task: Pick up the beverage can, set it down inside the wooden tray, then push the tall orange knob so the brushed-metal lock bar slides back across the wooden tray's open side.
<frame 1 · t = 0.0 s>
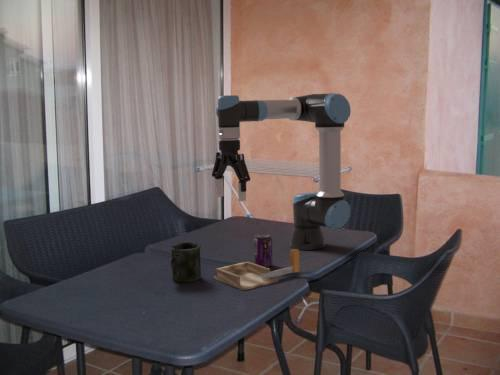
hand: (231, 198, 216), 28 cm above the table, fingers open, 13 cm apart
beverage can: (263, 266, 230), on the table
mug: (184, 280, 215), on the table
lock bar: (280, 264, 213), point 5 cm above the table, slide at 9.0 cm
wooden tray: (243, 279, 213), on the table
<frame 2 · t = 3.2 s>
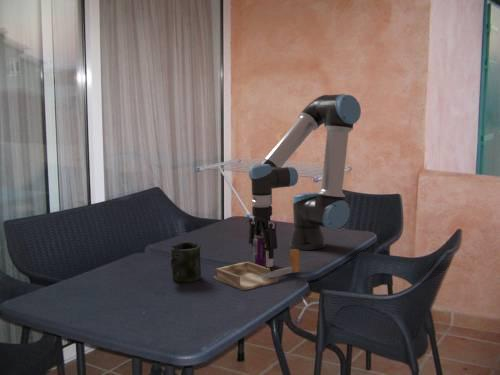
hand: (263, 264, 230), 1 cm above the table, fingers closed on beverage can, 7 cm apart
beverage can: (263, 266, 230), on the table, touching gripper
everything else where it was.
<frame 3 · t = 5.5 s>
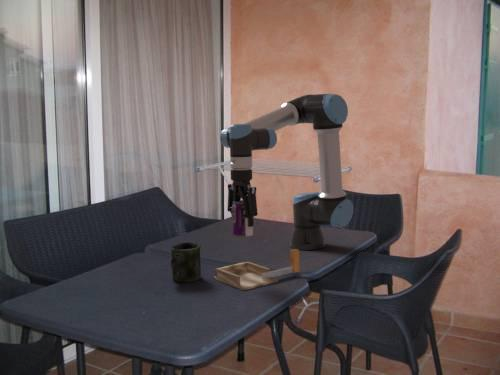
hand: (242, 233, 211), 16 cm above the table, fingers closed on beverage can, 7 cm apart
beverage can: (242, 235, 211), point 16 cm above the table, touching gripper
everything else where it was.
when the fingers open (4 cm above the table, at t = 8.2 s): beverage can drops 2 cm, resting on wooden tray.
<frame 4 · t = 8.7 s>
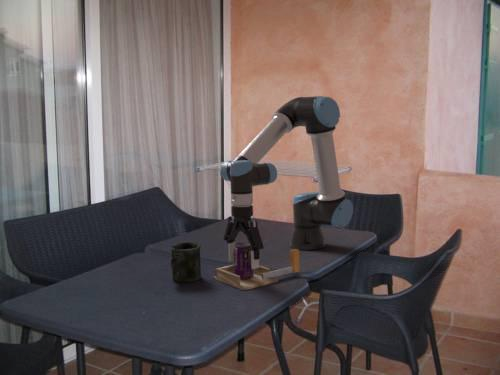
hand: (243, 264, 213), 5 cm above the table, fingers open, 13 cm apart
beverage can: (243, 277, 213), point 1 cm above the table, touching wooden tray
everything else where it was.
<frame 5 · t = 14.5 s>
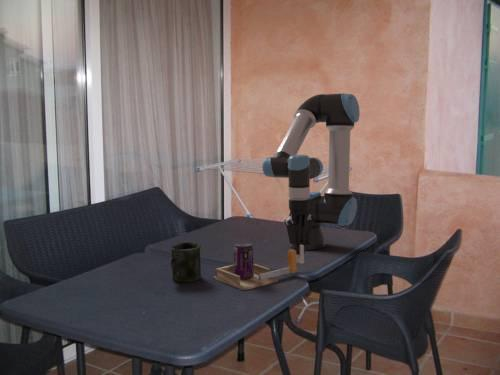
hand: (299, 262, 219), 4 cm above the table, fingers closed
lock bar: (277, 264, 212), point 5 cm above the table, slide at 7.7 cm, touching gripper
everything else where it was.
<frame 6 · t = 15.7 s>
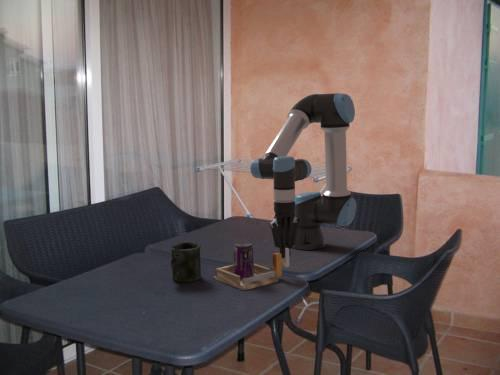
hand: (285, 266, 214), 4 cm above the table, fingers closed
lock bar: (261, 268, 208), point 5 cm above the table, slide at 0.7 cm, touching gripper
everything else where it was.
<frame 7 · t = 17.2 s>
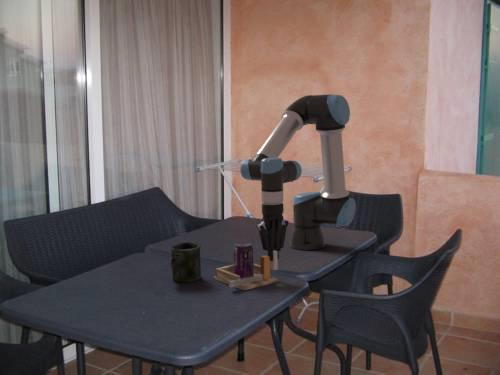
hand: (273, 269, 211), 4 cm above the table, fingers closed
lock bar: (249, 271, 205), point 5 cm above the table, slide at -4.7 cm, touching gripper
everything else where it was.
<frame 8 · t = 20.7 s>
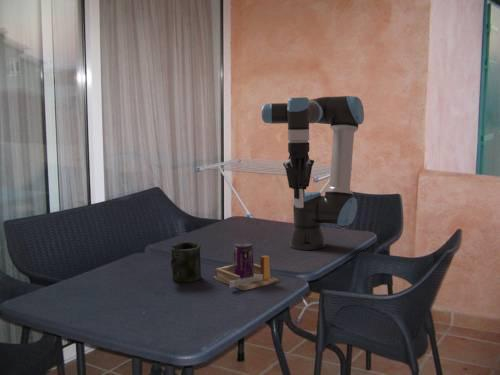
hand: (299, 207, 216), 24 cm above the table, fingers closed
lock bar: (249, 271, 205), point 5 cm above the table, slide at -4.8 cm
everything else where it was.
at the end: beverage can inside the target area on the wooden tray (0.0 cm from its centre), point 0.6 cm above the wooden tray's base; beverage can tilted 0°; lock bar slide at -4.8 cm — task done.
